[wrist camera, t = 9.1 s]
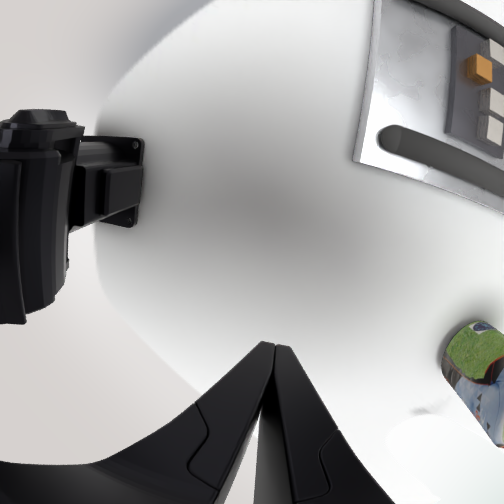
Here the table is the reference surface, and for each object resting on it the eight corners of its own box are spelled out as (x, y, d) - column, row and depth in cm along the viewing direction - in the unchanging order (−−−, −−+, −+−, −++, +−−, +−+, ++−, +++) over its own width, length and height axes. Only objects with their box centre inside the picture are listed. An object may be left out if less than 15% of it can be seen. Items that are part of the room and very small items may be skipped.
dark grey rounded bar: (392, -4, 11) (399, -15, 9) (392, -20, 10) (399, -31, 9) (537, 77, 10) (549, 75, 8) (535, 60, 9) (547, 57, 7)
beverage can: (424, 368, 21) (466, 477, 10) (465, 296, 18) (546, 394, 7) (469, 374, 20) (514, 464, 9) (507, 309, 18) (578, 391, 7)
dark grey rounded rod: (375, 149, 14) (383, 148, 13) (380, 122, 14) (388, 118, 12) (525, 210, 13) (538, 215, 12) (529, 188, 13) (543, 192, 11)
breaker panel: (352, 160, 17) (368, 162, 13) (375, -15, 12) (389, -47, 8) (508, 216, 16) (543, 232, 11) (523, 60, 11) (554, 52, 7)
